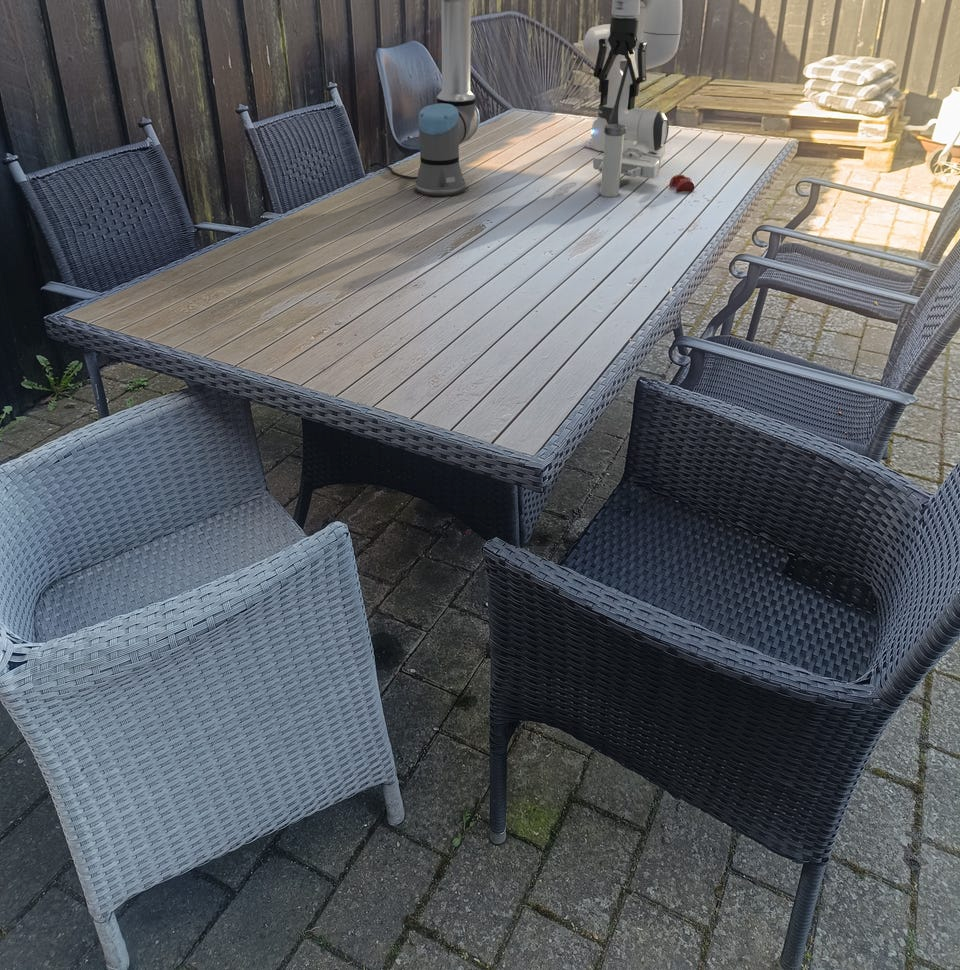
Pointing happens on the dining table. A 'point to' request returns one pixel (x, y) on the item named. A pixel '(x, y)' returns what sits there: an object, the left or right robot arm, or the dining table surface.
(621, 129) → the lid
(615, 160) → the bottle
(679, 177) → the dental model
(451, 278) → the dining table surface
